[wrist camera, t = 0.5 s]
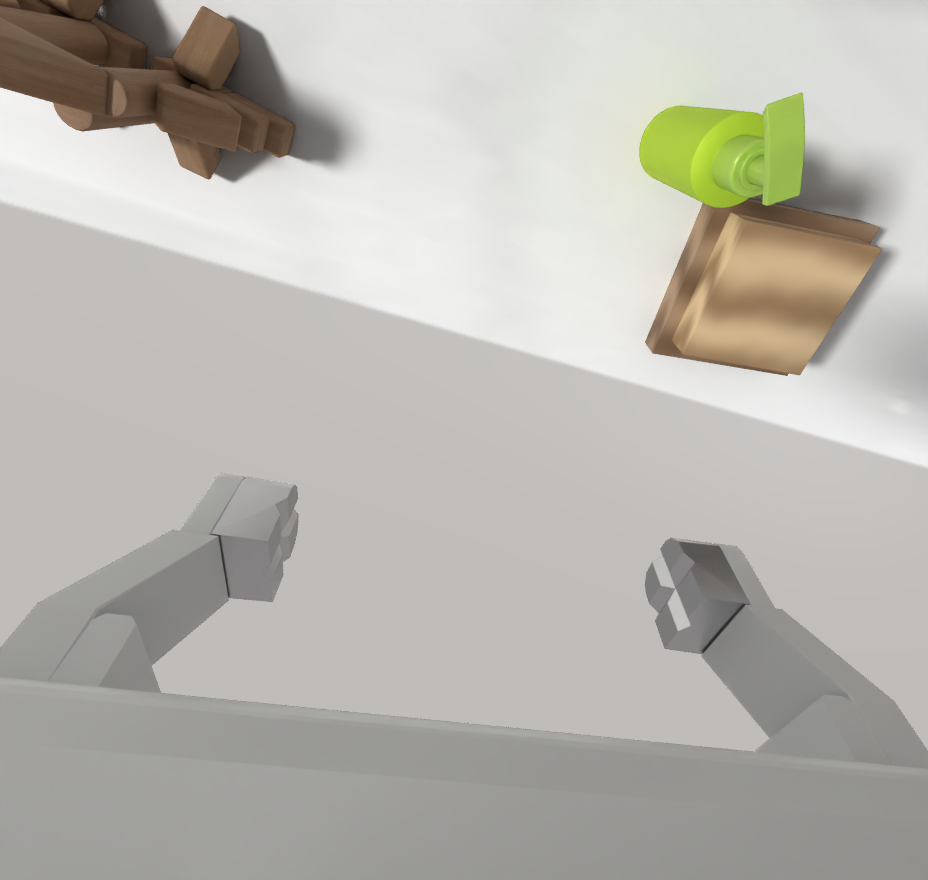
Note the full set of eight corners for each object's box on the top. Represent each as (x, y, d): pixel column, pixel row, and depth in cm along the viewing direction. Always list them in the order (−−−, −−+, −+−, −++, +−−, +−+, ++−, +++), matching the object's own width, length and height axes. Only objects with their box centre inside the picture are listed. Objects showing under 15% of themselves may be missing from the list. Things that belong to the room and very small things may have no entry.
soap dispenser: (703, 80, 42) (848, 77, 26) (706, 167, 46) (835, 211, 30) (633, 106, 43) (731, 119, 27) (642, 189, 47) (733, 243, 31)
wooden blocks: (311, 64, 42) (228, 53, 28) (276, 205, 49) (194, 256, 34) (-23, -126, 36) (-359, -271, 21) (-12, 64, 42) (-263, 53, 28)
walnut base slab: (705, 188, 48) (720, 195, 45) (856, 219, 49) (880, 227, 46) (643, 340, 57) (652, 353, 54) (771, 361, 58) (787, 375, 56)
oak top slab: (730, 212, 46) (747, 220, 43) (857, 238, 47) (882, 248, 44) (671, 340, 53) (683, 354, 50) (782, 360, 54) (799, 375, 52)
